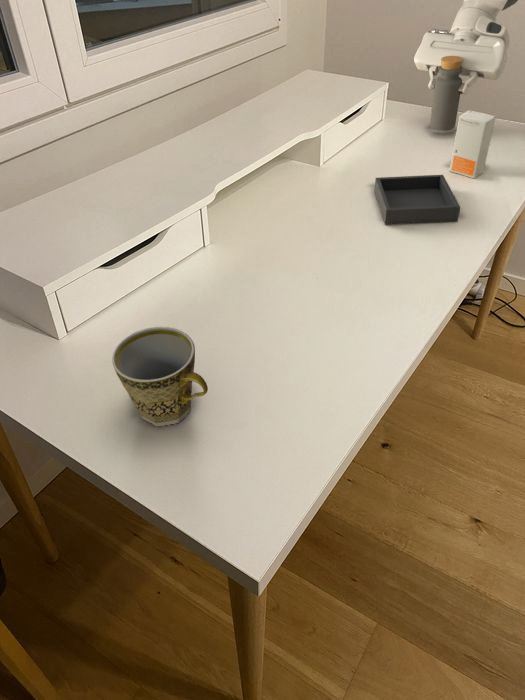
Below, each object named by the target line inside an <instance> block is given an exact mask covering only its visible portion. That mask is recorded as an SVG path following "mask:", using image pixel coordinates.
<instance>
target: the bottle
mask: <svg viewBox="0 0 525 700" xmlns="http://www.w3.org/2000/svg"><path fill="white" fill-rule="evenodd" d="M462 61H463V58H462V57H459V56H445V57H442V58H441V66H440V67H439V72H438V73H439V74H440V75H439V76H438V77H437V78H435V79H436V82H435V89H434V90H433V97H432V98H433V99H432V106H431V113H430V121H429V127H430V129H432V130H435V131H439V132H446V131H447V132H448V131H451V130H453V129H455V127H456V123H457V117H458V110H459V105H460V98H461V94H459V92H458V89H459V87H460V85H461V83H463V79H462V78H461V76H460V75H459V74H461V73H462V69H463V68H462V66H461V64H462Z"/></svg>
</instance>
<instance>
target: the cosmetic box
mask: <svg viewBox="0 0 525 700" xmlns="http://www.w3.org/2000/svg"><path fill="white" fill-rule="evenodd" d="M495 122H496V116H495V115H492V114H487V113H486V112H485V113H484V112H480V111H479V112H478V111H473V110H470V109H469V110H467V111H465V112H464V113H462V114H460V115H459V117H458V121H457V127H456V133H455V137H454V144H453V149H452V154H451V159H450V165H449V172H451V173H455V174H458V175H461V176H463V177H468V178H470V179H472V180H473V179H476V178H477V177H479V176H480V175H481V174H483V173H484V172H485V167H486V163H487V157H488V153H489V150H490V149H489V148H490V145H491V144H490V143H491V139H492V135H493V131H494V127H495Z"/></svg>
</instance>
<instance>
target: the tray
mask: <svg viewBox="0 0 525 700" xmlns="http://www.w3.org/2000/svg"><path fill="white" fill-rule="evenodd" d="M374 195H375V199H376V202H377V205H378V208H379V210H380V211H379V212H380V214H381V216H382V220H383V223H384V226H389V225H392V226H393V225H394V226H395V225H413V224H414V225H417V224H437V223H439V224H441V223H457V222H458V221H459V215H460V212H461V211H460V210H461V205H460V203H459V202H458V200H457V198H456V196H455V195H454V192H453V190H452V189H451V187H450V185H449V183H448V182H447V179H446V177H445V176H444V174H428V175H425V174H424V175H405V176H404V175H403V176H383V177H382V176H381V177H375V179H374Z"/></svg>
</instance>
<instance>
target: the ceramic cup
mask: <svg viewBox="0 0 525 700" xmlns="http://www.w3.org/2000/svg"><path fill="white" fill-rule="evenodd" d="M111 361H112V362H111V363H112V367H113V369H114V371H115V374H116V376H117V377H118V379H119V381H120V384H121V385H122V386H123V388H124V389H125V391H126V392H127V394H128V396H129V398H130V400H131V401H132V403H133V405H134V406H135V408H136V411H137V412H138V414H139V415H140V417H141V419H143V420H144V421H145V422H147V423H150V424H151V423H152V424H151V425H153V426H155V427H157V426H162V427H164V426H163V425H168V426H170V425H169V424H174V425H176V424H175V423H178V422H180V421H181V420H182V419H183V418H184V417H185V416H186V415H187V414H188V413H189V412H190V413H191V411H192V400H193V399H195V398H199V397H204V396H205V395H206V394H207V393H208V390H209V387H208V383H207V382H206V380H205V379H204V378H203V376H202V375H201V374H199V373H197V372H195V362H196V345H195V343H194V340H193V339H192V338H191V337H190V336H189V334H187V333H186V332H184V331H182V330H181V329H177V328H174V327H169V326H153V327H147V328H144V329H140V330H137V331H135V332H133V333H131V334H129V335H127V336H126V337H125V338H123V339H122V340H121V341H120V342H119V343H118V344H117V346H116V347H115V348H114V350H113V353H112V359H111ZM193 382H194V383H197V384H198V385H199V386H200V387H201V389H202V391H200V392H195V393H193V394H192V390H193ZM190 413H189V414H190ZM189 414H188V415H189ZM188 415H187V416H188ZM187 416H186V417H187ZM186 417H185V418H186ZM185 418H184V419H185ZM184 419H183V420H184ZM183 420H182V421H183ZM182 421H181V422H182ZM181 422H180V423H181Z"/></svg>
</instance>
